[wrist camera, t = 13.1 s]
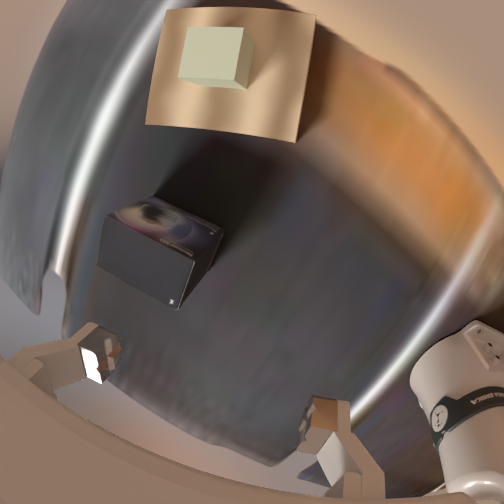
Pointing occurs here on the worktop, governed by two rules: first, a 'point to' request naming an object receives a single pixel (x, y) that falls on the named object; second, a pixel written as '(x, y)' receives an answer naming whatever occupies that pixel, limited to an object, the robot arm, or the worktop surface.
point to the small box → (158, 249)
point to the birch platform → (259, 82)
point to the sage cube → (217, 57)
